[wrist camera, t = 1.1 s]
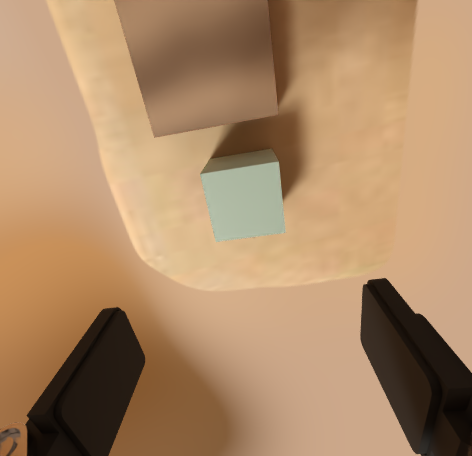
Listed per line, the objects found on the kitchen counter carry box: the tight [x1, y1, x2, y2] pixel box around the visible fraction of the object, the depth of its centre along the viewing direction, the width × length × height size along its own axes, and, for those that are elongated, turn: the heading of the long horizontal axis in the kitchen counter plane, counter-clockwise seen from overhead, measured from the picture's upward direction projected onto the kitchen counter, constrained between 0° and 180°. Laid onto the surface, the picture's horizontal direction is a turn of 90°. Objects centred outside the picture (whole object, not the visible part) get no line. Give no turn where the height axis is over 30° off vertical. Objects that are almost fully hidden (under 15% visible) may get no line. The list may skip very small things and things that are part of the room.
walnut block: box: [114, 0, 278, 138], centre depth 20 cm, size 10×10×4 cm
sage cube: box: [200, 149, 286, 242], centre depth 23 cm, size 6×6×6 cm
